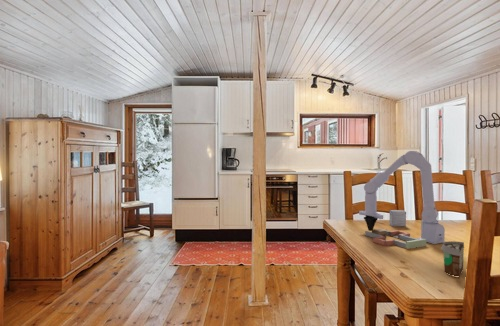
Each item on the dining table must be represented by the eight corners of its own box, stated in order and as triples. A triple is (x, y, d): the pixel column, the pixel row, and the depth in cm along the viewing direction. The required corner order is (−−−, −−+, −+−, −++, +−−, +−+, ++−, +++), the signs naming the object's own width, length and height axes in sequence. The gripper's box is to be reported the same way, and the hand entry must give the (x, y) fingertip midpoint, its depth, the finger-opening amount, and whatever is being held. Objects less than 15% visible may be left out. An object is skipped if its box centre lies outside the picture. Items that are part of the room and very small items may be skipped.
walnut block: (385, 236, 165) (385, 230, 165) (378, 237, 163) (378, 231, 162) (378, 234, 169) (378, 228, 169) (371, 235, 167) (371, 229, 167)
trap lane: (434, 244, 149) (434, 238, 149) (398, 250, 140) (398, 243, 140) (389, 231, 173) (389, 226, 173) (356, 236, 164) (356, 230, 164)
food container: (444, 265, 121) (444, 239, 121) (463, 269, 118) (464, 241, 117) (437, 275, 112) (438, 246, 112) (458, 279, 108) (459, 249, 108)
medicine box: (403, 225, 190) (403, 210, 190) (406, 226, 186) (406, 211, 185) (389, 224, 191) (389, 210, 190) (391, 226, 186) (391, 211, 186)
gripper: (387, 206, 166) (387, 232, 166) (365, 202, 179) (365, 226, 179) (377, 207, 163) (377, 234, 163) (356, 203, 176) (356, 228, 176)
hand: (370, 230), depth 171 cm, fingers closed
